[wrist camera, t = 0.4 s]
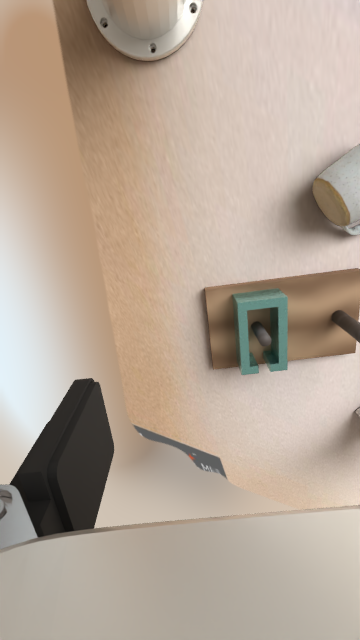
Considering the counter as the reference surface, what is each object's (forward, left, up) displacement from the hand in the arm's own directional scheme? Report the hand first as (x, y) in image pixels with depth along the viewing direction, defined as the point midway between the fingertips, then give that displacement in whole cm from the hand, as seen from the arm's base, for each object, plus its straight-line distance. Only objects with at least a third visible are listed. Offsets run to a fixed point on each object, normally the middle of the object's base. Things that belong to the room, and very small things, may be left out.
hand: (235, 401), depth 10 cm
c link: (+13, +8, -33) cm, 36 cm away
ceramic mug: (-4, +21, -35) cm, 41 cm away
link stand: (+13, +12, -35) cm, 39 cm away
